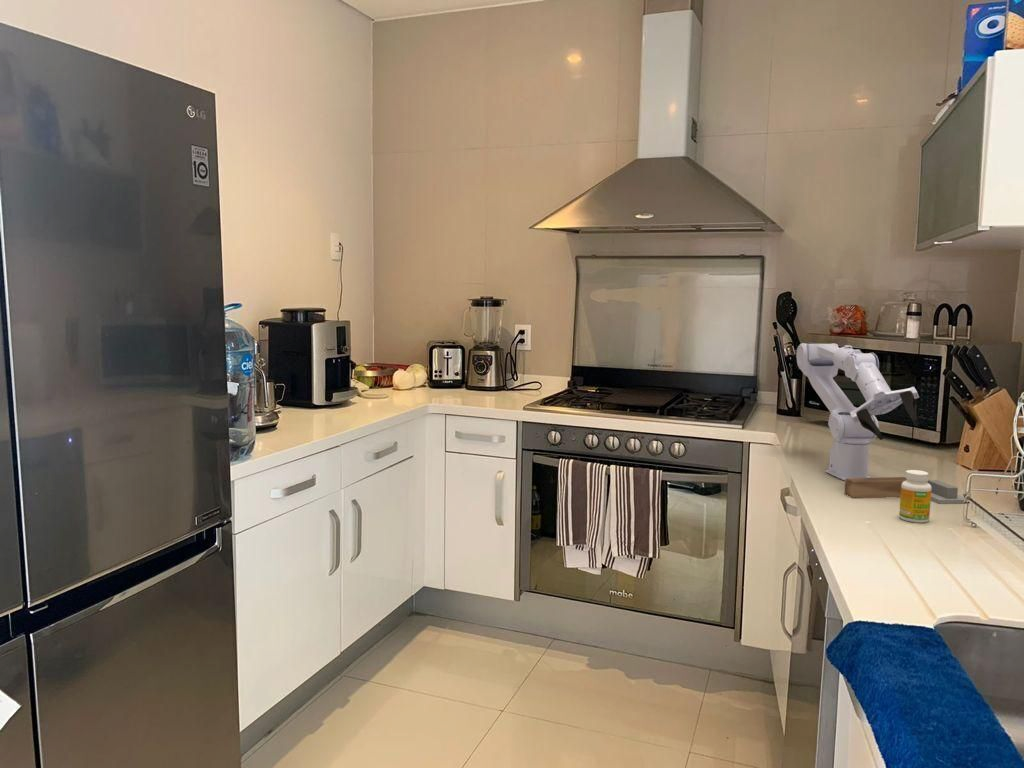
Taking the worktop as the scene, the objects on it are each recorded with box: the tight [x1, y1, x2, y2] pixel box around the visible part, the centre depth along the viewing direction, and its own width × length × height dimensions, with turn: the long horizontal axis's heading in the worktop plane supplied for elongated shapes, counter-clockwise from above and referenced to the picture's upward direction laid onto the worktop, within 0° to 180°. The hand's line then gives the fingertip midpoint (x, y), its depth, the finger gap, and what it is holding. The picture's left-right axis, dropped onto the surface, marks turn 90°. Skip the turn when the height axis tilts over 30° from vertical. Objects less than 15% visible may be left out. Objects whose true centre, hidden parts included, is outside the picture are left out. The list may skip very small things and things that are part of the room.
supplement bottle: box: [898, 469, 932, 524], centre depth 155 cm, size 5×5×10 cm
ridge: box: [927, 479, 965, 505], centre depth 172 cm, size 9×7×3 cm
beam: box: [844, 476, 907, 499], centre depth 174 cm, size 4×14×4 cm, turn 95°
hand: (898, 430), depth 169 cm, fingers open, 7 cm apart
